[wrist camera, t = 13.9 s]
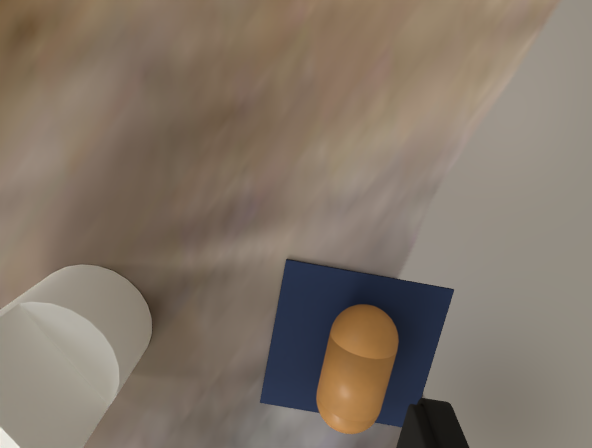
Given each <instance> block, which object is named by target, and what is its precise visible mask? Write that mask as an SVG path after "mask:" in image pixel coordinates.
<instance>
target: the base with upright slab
mask: <svg viewBox="0 0 592 448" xmlns="http://www.w3.org/2000/svg"><path fill="white" fill-rule="evenodd" d="M151 335H152V318H151V314H150V311H149V308H148V305H147V303H146V301H145V300H144V298H143V296H142V295H141V293H140V292H139V290H138V289H137V288H136V287H135V286H133V285H132V284H131V283H130V282H129V281H128V280H127V279H126V278H124V277H122V276H121V275H119V274H117V273H116V272H114V271H112V270H109V269H106V268H103V267H100V266H95V265H84V264H80V265H74V266H68V267H64V268H62V269H60V270H58V271H56V272H54V273H52V274H50V275H49V276H47V277H46V278H45V279H43V280H42V281H40V282H39V283H38V284H36V285H35V286H33V287H32V288H30V289H29V290H28V291H26V292H25V293H23V294H22V295H21V296H19V297H18V298H16V299H15V300H13V301H12V302H11V303H9V304H8V305H6V306H5V307H3V308H2V309H1V310H0V448H83V447H84V445H85V444H86V442H87V441H88V439H89V437H90V436H91V434H92V433H93V431H94V430H95V428H96V427H97V425H98V423H99V422H100V420H101V419H102V417H103V416H104V414H105V412H106V411H107V409H108V408H109V406H110V405H111V403H112V402H113V400H114V399H115V397H116V396H117V394H118V393H119V391H120V390H121V388H122V386H123V385H124V383H125V382H126V380H127V379H128V377H129V375H130V374H131V372H132V371H133V369H134V368H135V366H136V364H137V363H138V361H139V360H140V358H141V357H142V355H143V353H144V352H145V350H146V349H147V347H148V345H149V342H150V338H151Z"/></svg>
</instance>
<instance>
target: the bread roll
mask: <svg viewBox="0 0 592 448" xmlns="http://www.w3.org/2000/svg"><path fill="white" fill-rule="evenodd" d="M398 343H399V339H398V332H397V329H396V326H395V324H394V322H393V321H392V319H391V318H390V317H389V316H388V315H387V314H386V313H385V312H384V311H383V310H381V309H379V308H377V307H375V306H372V305H367V304H359V305H354V306H351V307H349V308H347V309H345V310H344V311H342V312H341V313H340V314H339V315H338V316H337V317H336V319H335V321H334V322H333V324H332V327H331V331H330V335H329V339H328V344H327V348H326V353H325V357H324V362H323V366H322V370H321V375H320V379H319V384H318V388H317V397H316V400H317V406H318V410H319V412H320V414H321V417H322V418H323V419H324V421H325V422H326V423H327V424H328V425H329V426H330V427H331V428H333V429H335V430H337V431H339V432H342V433H346V434H356V433H359V432H362V431H365V430H366V429H368V428H369V427H370V426H372V425H373V424H374V422H375V421H376V420H377V418H378V416H379V414H380V411H381V408H382V404H383V400H384V397H385V393H386V389H387V386H388V382H389V379H390V375H391V371H392V368H393V364H394V361H395V357H396V353H397V349H398Z"/></svg>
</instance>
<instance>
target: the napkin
mask: <svg viewBox="0 0 592 448" xmlns="http://www.w3.org/2000/svg"><path fill="white" fill-rule="evenodd" d="M453 292H454V289H450V288H444V287H439V286H433V285H428V284H422V283H417V282H411V281H406V280H400V279H394V278H389V277H383V276H378V275H372V274H366V273H361V272H355V271H350V270H344V269H338V268H333V267H327V266H322V265H316V264H310V263H305V262H299V261H294V260H288V259H286V264H285V269H284V275H283V280H282V286H281V291H280V297H279V302H278V307H277V313H276V318H275V324H274V329H273V335H272V340H271V345H270V351H269V356H268V362H267V367H266V373H265V378H264V384H263V389H262V394H261V400H260V403H265V404H271V405H277V406H282V407H288V408H294V409H300V410H306V411H311V412H317V413H320V412H319V410H318V406H317V400H316V397H317V388H318V384H319V379H320V375H321V370H322V366H323V362H324V357H325V353H326V348H327V344H328V339H329V335H330V331H331V327H332V324H333V322H334V321H335V319H336V317H337V316H338V315H339V314H340V313H341V312H342V311H344V310H345V309H347V308H349V307H351V306H354V305H359V304H367V305H372V306H375V307H377V308H379V309H381V310H383V311H384V312H385V313H386V314H387V315H388V316H389V317H390V318H391V319H392V321H393V322H394V324H395V326H396V329H397V332H398V339H399V343H398V349H397V353H396V357H395V361H394V364H393V368H392V371H391V375H390V379H389V382H388V386H387V389H386V393H385V397H384V400H383V404H382V408H381V411H380V414H379V416H378V418H377V420H376V421H375V423H381V424H387V425H393V426H398V427H402V426H403V423H404V419H405V416H406V412H407V409H408V407H409V405H410V404H415V405H417V403H418V401H419V399H421V397H422V394H423V391H424V387H425V384H426V381H427V377H428V374H429V371H430V368H431V364H432V361H433V357H434V354H435V351H436V348H437V345H438V341H439V338H440V335H441V331H442V328H443V325H444V321H445V318H446V314H447V312H448V308H449V305H450V302H451V298H452V295H453Z"/></svg>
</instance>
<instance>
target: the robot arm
mask: <svg viewBox="0 0 592 448" xmlns="http://www.w3.org/2000/svg"><path fill="white" fill-rule="evenodd" d="M396 448H469V446H468V444H467V441H466V439H465V436H464V434H463V432H462V429H461V427H460V424H459V422H458V420H457V417H456V415H455V413H454V410H453V408H452V406H451V404H450V403H448V402H444V401H438V400H432V399H425V398H421V399H419V401H418V403H417V405H415V404H410V405H409V407H408V409H407V412H406V416H405V419H404V423H403V426H402V430H401V433H400V437H399V440H398V444H397V447H396Z"/></svg>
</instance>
